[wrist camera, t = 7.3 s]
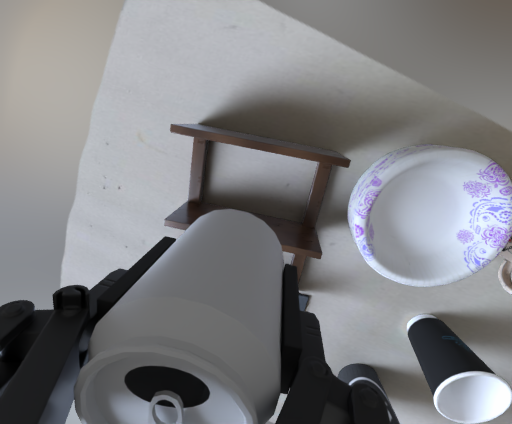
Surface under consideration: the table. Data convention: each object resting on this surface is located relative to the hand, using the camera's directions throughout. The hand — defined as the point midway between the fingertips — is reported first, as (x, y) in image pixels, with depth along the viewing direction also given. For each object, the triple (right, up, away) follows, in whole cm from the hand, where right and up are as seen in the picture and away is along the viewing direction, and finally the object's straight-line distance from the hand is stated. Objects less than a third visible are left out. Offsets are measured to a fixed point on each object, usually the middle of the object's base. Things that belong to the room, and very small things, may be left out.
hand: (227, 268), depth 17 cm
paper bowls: (+21, +5, +16) cm, 27 cm away
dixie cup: (+27, -14, +22) cm, 38 cm away
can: (0, +1, +2) cm, 3 cm away
